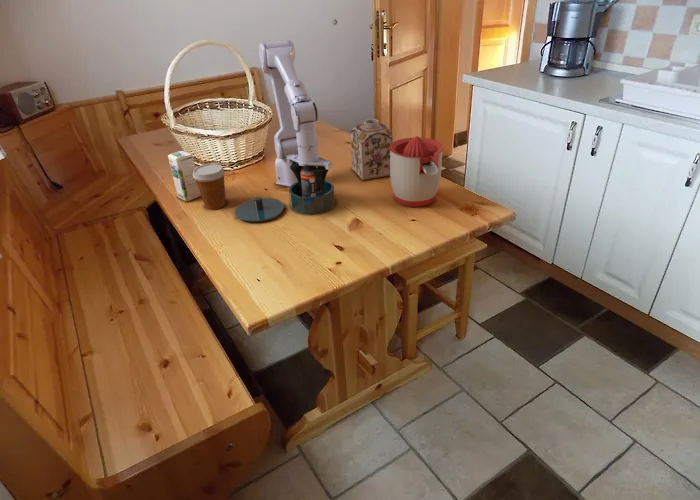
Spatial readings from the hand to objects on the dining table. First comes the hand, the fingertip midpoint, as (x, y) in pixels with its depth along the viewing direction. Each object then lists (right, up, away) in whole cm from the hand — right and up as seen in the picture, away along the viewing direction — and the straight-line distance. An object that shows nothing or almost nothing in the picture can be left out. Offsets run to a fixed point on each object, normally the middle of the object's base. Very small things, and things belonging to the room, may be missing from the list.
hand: (311, 187), depth 143 cm
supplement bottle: (0, -3, +2) cm, 4 cm away
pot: (0, -5, +3) cm, 6 cm away
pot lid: (-16, -7, 0) cm, 17 cm away
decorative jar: (+19, +8, +22) cm, 30 cm away
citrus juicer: (+32, -4, +2) cm, 32 cm away
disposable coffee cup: (-31, -5, +6) cm, 31 cm away
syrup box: (-41, -2, +11) cm, 42 cm away
